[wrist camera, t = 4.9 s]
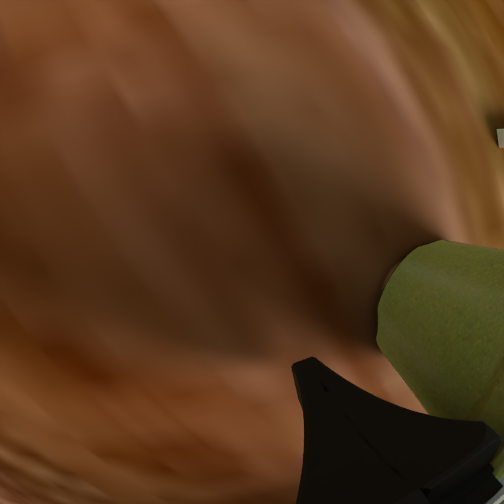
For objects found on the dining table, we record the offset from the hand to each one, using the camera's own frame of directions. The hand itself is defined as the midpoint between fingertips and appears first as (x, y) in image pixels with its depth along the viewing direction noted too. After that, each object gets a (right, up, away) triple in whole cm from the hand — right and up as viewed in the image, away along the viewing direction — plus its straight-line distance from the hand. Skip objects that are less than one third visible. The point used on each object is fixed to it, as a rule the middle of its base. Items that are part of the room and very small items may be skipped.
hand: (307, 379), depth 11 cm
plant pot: (+6, +2, +2) cm, 7 cm away
